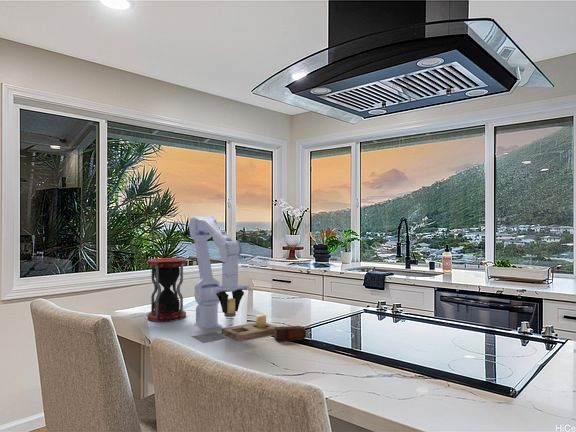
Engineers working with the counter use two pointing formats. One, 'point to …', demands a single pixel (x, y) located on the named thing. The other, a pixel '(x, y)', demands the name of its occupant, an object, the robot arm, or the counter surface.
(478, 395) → the counter surface
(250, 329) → the socket board
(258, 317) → the tan domed cylinder
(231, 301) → the yellow peg
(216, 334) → the mat
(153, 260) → the hourglass
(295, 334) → the brick
